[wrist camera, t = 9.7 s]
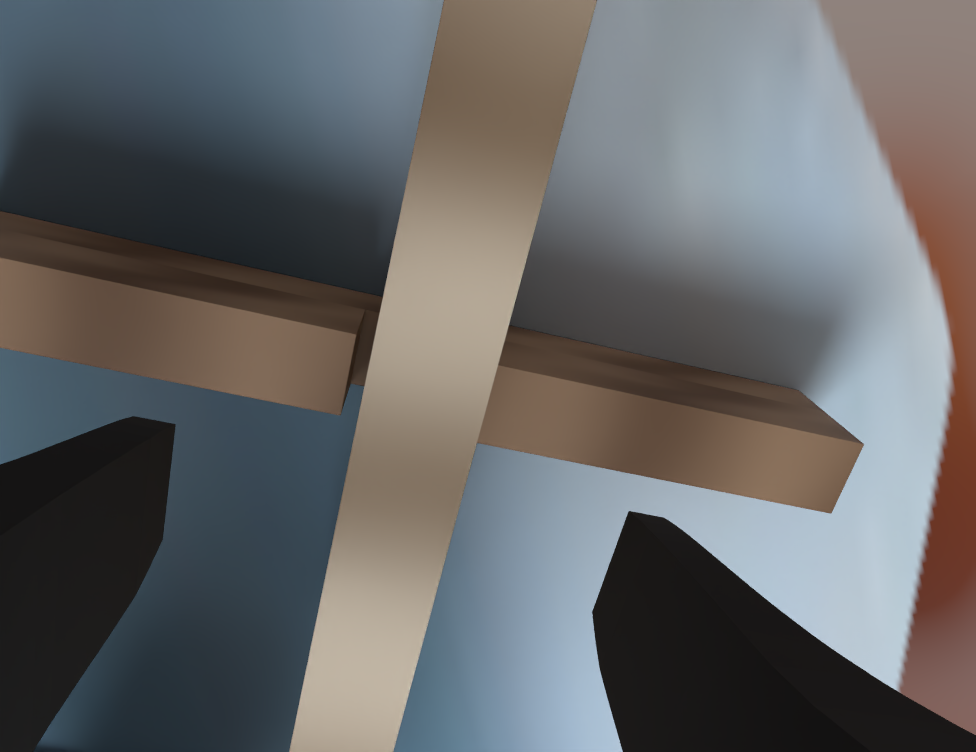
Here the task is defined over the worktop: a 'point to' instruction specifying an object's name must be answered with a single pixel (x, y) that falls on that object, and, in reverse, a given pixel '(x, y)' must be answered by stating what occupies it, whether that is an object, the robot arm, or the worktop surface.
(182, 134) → the worktop surface
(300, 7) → the worktop surface
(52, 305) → the walnut stand
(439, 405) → the cross piece
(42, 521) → the robot arm
